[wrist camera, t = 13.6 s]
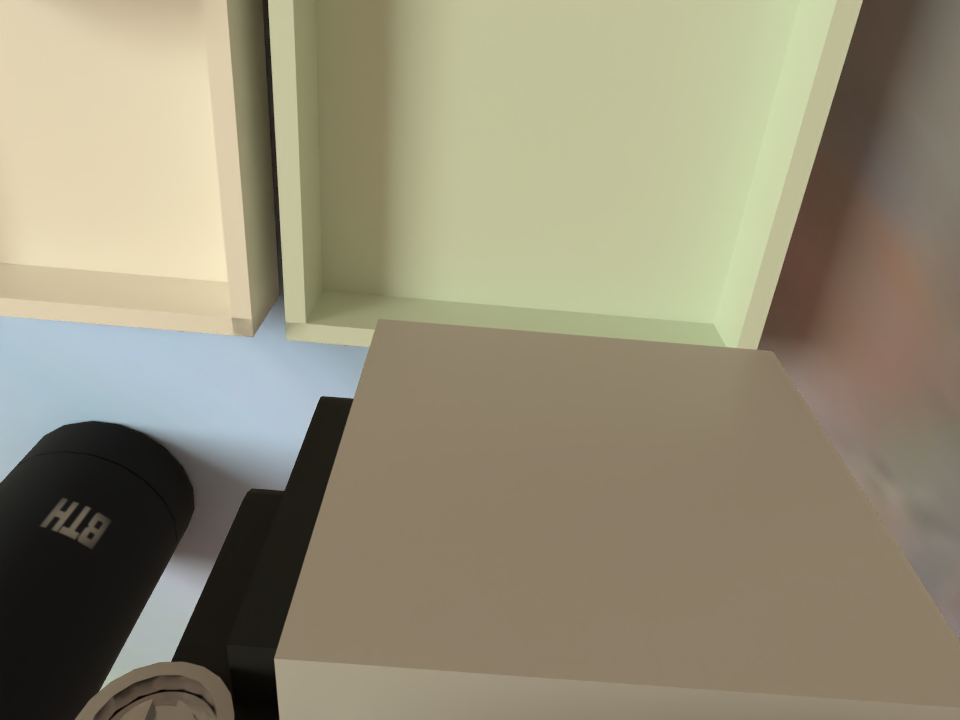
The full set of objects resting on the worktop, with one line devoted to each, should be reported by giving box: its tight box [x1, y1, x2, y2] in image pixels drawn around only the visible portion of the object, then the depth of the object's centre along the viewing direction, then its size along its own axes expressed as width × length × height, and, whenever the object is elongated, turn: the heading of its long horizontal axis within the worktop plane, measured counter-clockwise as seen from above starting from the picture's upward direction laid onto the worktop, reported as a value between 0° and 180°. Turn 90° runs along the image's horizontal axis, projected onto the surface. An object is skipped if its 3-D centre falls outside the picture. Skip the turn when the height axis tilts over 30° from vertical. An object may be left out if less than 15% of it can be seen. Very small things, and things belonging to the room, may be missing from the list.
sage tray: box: [268, 0, 863, 350], centre depth 20 cm, size 16×14×3 cm
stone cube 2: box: [274, 319, 960, 720], centre depth 8 cm, size 5×5×5 cm
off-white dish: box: [0, 0, 279, 337], centre depth 20 cm, size 16×12×3 cm
